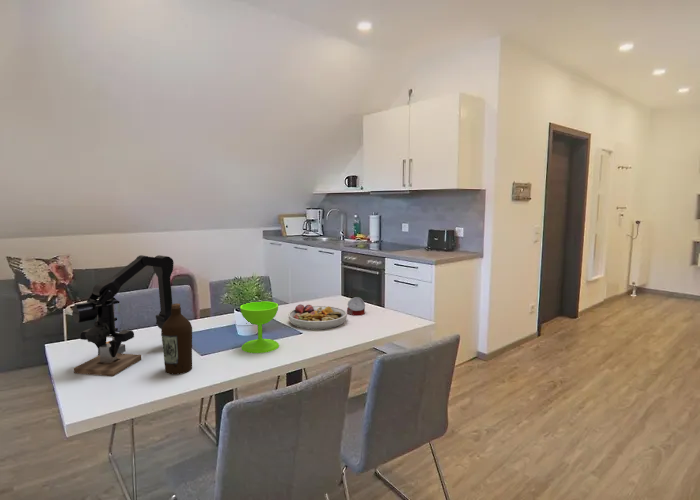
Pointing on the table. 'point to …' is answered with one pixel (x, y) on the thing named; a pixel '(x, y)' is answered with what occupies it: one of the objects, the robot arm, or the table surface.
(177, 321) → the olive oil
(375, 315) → the table surface
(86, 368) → the walnut pallet
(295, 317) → the bowl
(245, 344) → the wineglass
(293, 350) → the table surface
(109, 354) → the metal billet
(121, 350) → the button housing
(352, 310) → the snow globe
